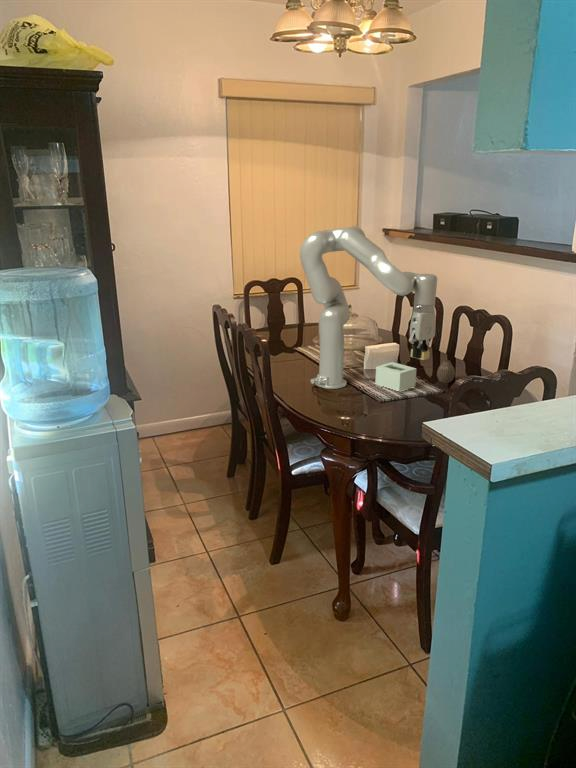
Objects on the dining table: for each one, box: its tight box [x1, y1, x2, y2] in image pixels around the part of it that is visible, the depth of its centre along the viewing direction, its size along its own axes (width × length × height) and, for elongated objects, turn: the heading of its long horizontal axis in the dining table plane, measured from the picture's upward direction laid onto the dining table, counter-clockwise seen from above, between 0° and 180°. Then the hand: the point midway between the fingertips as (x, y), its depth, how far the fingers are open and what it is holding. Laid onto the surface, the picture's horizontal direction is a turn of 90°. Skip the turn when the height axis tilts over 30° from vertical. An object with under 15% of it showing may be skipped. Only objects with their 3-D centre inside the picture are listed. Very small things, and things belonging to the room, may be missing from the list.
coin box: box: [374, 361, 417, 391], centre depth 224 cm, size 10×12×8 cm
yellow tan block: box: [410, 348, 431, 361], centre depth 212 cm, size 3×6×3 cm, turn 40°
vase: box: [436, 359, 456, 384], centre depth 230 cm, size 7×7×9 cm
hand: (419, 356), depth 213 cm, fingers closed on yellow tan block, 3 cm apart
